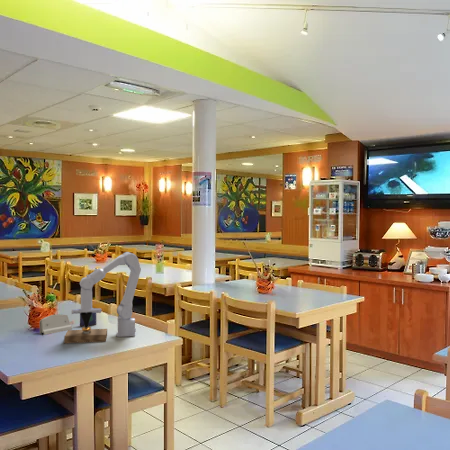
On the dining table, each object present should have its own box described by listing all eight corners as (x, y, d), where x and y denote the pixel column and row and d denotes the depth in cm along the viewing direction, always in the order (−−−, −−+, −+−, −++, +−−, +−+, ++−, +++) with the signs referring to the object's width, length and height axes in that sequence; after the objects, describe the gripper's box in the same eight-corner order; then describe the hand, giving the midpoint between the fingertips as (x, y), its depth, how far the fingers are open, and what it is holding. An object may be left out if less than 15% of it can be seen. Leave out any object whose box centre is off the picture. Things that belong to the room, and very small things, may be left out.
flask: (96, 324, 266) (96, 306, 265) (96, 325, 263) (96, 307, 263) (79, 325, 262) (79, 307, 262) (80, 326, 260) (80, 308, 259)
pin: (92, 338, 236) (92, 326, 236) (89, 340, 232) (89, 329, 232) (83, 338, 236) (83, 326, 236) (80, 340, 232) (80, 328, 232)
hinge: (43, 335, 242) (40, 316, 244) (39, 336, 245) (37, 318, 247) (72, 329, 254) (69, 311, 256) (68, 330, 257) (65, 313, 259)
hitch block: (107, 335, 242) (107, 328, 242) (105, 341, 231) (105, 334, 231) (67, 336, 239) (67, 330, 238) (64, 343, 227) (64, 336, 227)
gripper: (101, 298, 239) (101, 324, 240) (72, 299, 237) (72, 325, 237) (100, 301, 232) (100, 327, 233) (70, 302, 230) (71, 329, 230)
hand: (86, 327), depth 234 cm, fingers closed
